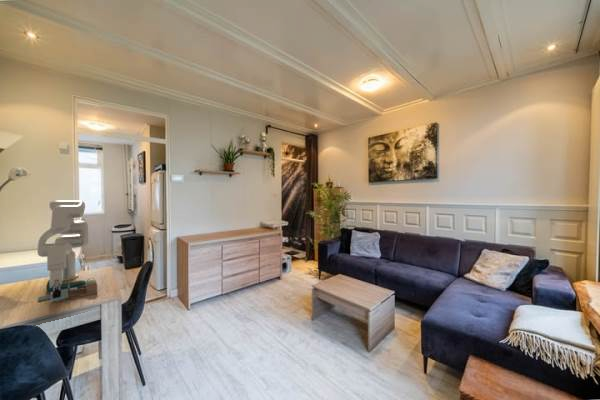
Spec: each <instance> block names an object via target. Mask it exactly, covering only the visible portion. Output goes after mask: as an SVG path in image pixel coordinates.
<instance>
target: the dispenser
mask: <svg viewBox="0 0 600 400" xmlns="http://www.w3.org/2000/svg"><path fill="white" fill-rule="evenodd" d="M85 281H86V282H85V285H83V286H79V287H77V289H76V290H71V291H70V285H68V298H67V299H68V300H70V299H73V298H74V297H75V298H79V297H82V296H83V295H84V296H91V295H95V294H98V283H97V280H96V278H94V277H89V278H87V279H86V280H85Z"/></svg>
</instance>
